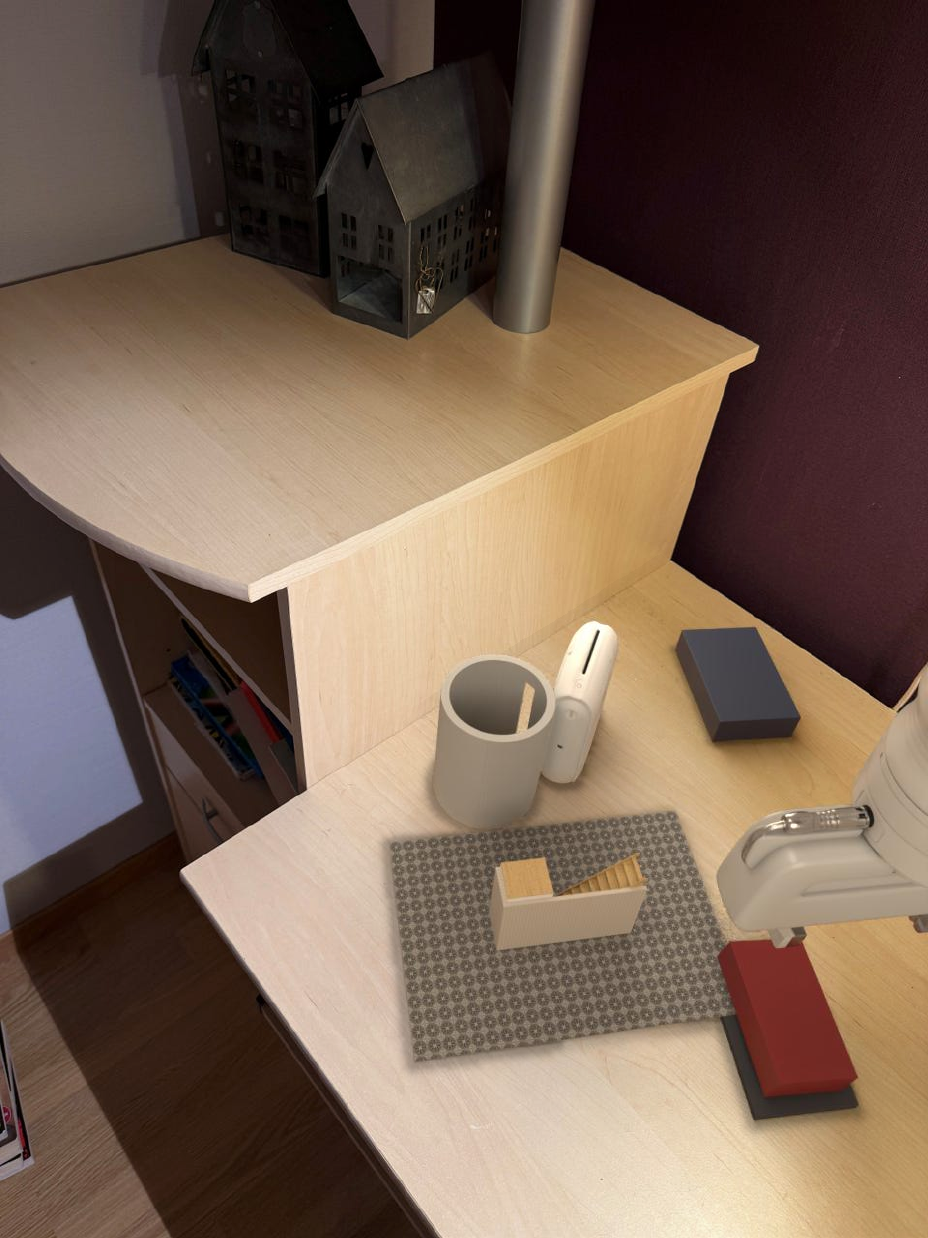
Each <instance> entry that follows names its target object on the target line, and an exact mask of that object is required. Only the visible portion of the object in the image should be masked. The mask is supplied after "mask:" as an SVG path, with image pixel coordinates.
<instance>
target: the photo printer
mask: <svg viewBox="0 0 928 1238" xmlns="http://www.w3.org/2000/svg"><path fill="white" fill-rule="evenodd" d="M618 652H619V641H618V636H617V634H616V632H615V630H614V629H613V627H611V626H610V625H608V624H602V623H600V622H598V621H595V620H593V621H589V622H586V623H584V624H583V625H582V626H581V627H579V629H578V630H577V631H576V632H575V633H574V635H573V637H572V639H571V640H570V643H569V644H568V647H567V650H566V652H565V654H564V656H563V659H562V661H561V664H560V667H559V669H558V673H557V676H556V679H555V683H554V686H553V688H552V689H553V691H554V695H555V710H554V715H553V719H552V724H551V728H550V733H549V737H548V741H547V746H546V750H545V755H544V759H543V763H542V768H541V772H540V773H541V774H542V775H543V777H545V778H546V779H548V780H549V781H551V782H554V783H557V784H569V783H570V782H573V783H575V782H576V780H577V779H578V778H579V776H580V774H581V772H582V770H583V768H584V765H585V763H586V760H587V757H588V756H589V755H588V754H589V752H590V749H591V746H592V744H593V740H594V738H595V734H596V731H597V727H598V726H599V722H600V718H601V715H602V711H603V707H604V704H605V700H606V697H607V693H608V689H609V685H610V681H611V678H612V674H613V671H614V667H615V663H616V660H617V656H618Z"/></svg>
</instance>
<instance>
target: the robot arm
mask: <svg viewBox="0 0 928 1238" xmlns="http://www.w3.org/2000/svg"><path fill="white" fill-rule="evenodd" d="M917 687H918V688H917V694H916V697H915V699H914V700H912V701H911V702H909V703H908V704H906V705H905V706H904V707H902V708H901V709H900V710H899V711H898V712H897V713H896V714H895V716H894V717H893V718H892V720H891V721H890V722H889V724H888V725H887V727H886V729H885V731H884V732H883V734H882V735H881V737H880V739H879V740H878V742H877V743H876V745H875V747H874V748H873V749H872V751H871V752H870V755H869V756H868V757H867V759H866V760H865V762H864V764H863V766H862V767H861V769H860V770H859V772H858V773H857V775H856V777H855V779H854V782H853V785H852V790H851V803H848V804H837V805H835V804H834V805H823V806H812V807H800V808H798V807H797V808H789V809H783V810H777V811H775V812H771V813H769V814H766V815H764V816H763V817H761V818H760V819H758V820H756V821H755V822H754V823H753V824H751V826H749V827H748V829H747V830H746V831H744V833H743V834H742V835H741V836H740V838H739V839H738V840H737V841H736V842H735V844H734V845H733V846H732V847H731V849H730V851H729V852H728V853H727V854H726V856H725V857H724V859H723V861H722V862H721V863H720V865H719V867H718V869H717V871H716V884H717V888H718V892H719V895H720V897H721V901H722V903H723V906H724V908H725V911H726V913H727V915H728V918H729V919H730V922H731V923H732V924H733V925H734V926H736V928H738V929H739V931H742V932H744V933H756V932H757V933H758V932H766V931H768V934H769V937H770V940H772V942H773V945H774V946H775V947H776V948H786V947H794V946H800V945H801V941H802V942H804V940H806V938H807V937H808V934H807V931H806V929H805V927H814V926H822V925H834V924H843V923H852V922H862V921H863V922H864V921H872V920H882V919H893V918H901V917H902V918H903V917H908V919H909V920H910V921H911V922H912V923H913V924H912V927H913V929H914V931H915V932H916V933H917V934H924V933H925V934H926V933H928V662H927V663H926V665H925V667H924V668H923V671H922V674H921V676H920V678H919V683H918V686H917Z"/></svg>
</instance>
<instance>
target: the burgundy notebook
mask: <svg viewBox="0 0 928 1238" xmlns="http://www.w3.org/2000/svg"><path fill="white" fill-rule="evenodd" d="M717 958H718V961H719V964H720V967H721V970H722V973H723V976H724V979H725V982H726V985H727V988H728V991H729V994H730V996H731V999H732V1002H733V1005H734V1008H735V1011H736V1014H737V1017H738V1020H739V1023H740V1026H741V1029H742V1032H743V1035H744V1038H745V1041H746V1044H747V1047H748V1050H749V1053H750V1056H751V1059H752V1062H753V1065H754V1067H755V1070H756V1073H757V1076H758V1079H759V1082H760V1085H761V1088H762V1091H763V1094H764V1097H770V1096H782V1095H794V1094H807V1093H819V1092H831V1091H841V1090H842V1089H844V1088H845V1087H846V1086H848V1085H849V1084H852V1083H854V1082H855V1081H856V1080H857V1079H858V1078H859V1076H858V1074H857V1072H856V1069H855V1066H854V1064H853V1061H852V1058H851V1057H850V1054H849V1052H848V1050H847V1047H846V1044H845V1042H844V1040H843V1037H842V1035H841V1032H840V1029H839V1027H838V1025H837V1022H836V1019H835V1018H834V1015H833V1013H832V1010H831V1008H830V1006H829V1003H828V1001H827V997H826V996H825V993H824V991H823V989H822V986H821V984H820V982H819V978H818V976H817V974H816V972H815V970H814V967H813V964H812V961H811V959H810V956H809V954H808V952H807V949H806V948H805V945H804V941H801V945H800V946H794V947H786V948H776V947H775V946H774V945H773V942H772V940H771V939H755V940H730V941H728V942H727V943H726V946H725V947H724V949H723V950H722V951H721V952H720V953H719V955H718V956H717Z"/></svg>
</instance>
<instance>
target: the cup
mask: <svg viewBox="0 0 928 1238" xmlns="http://www.w3.org/2000/svg"><path fill="white" fill-rule="evenodd" d="M526 684H528V685H529V686H530V687H531V688H532V689H533V690H534V692H533V697H532V703H531V706H530V707H531V708H530V712H529V717H528V722H527V728H526V729H525V730H523V731H520V732H518V727H519V721H520V717H521V711H522V706H523V699H524V694H525V691H526V690H525V689H526ZM553 689H554V688H553V686H552V684H551V682H550V681H549V679H548V678H547V676H546V675H544V673H543V672H542V671H541V670H540V669H538V668H537V667H536V666H534V665H532V664H531V663H529V662H528V661H526V660H523V659H521V658H518V657H515V656H512V655H509V654H508V655H506V654H501V653H500V654H499V653H488V654H487V653H485V654H478V655H476V656H475V655H474V656H471V657H469V658H466V659H464V660H462V661H460V662H458V663H457V664H456V665H455V666H453V667H452V668H451V669H450V670H449V672H448V673H447V674H446V676H444V679H443V681H442V684H441V688H440V694H439V706H438V719H437V727H436V728H437V729H436V741H435V750H434V751H435V753H434V765H433V773H432V789H433V793H434V797H435V799H436V800H437V803H438V805H439V806H440V807H441V809H442V810H443V811H444V812H445V813H446V814H447V815H448V816H449V817H451V818H452V819H453V820H455V821H456V822H458V823H460V824H463V825H464V826H467V827H470V828H473V829H475V828H476V829H482V830H497V829H501V828H505V827H508V826H510V825H513V824H515V823H516V822H518V821H519V820H521V819H522V818H523V817H524V816H525V815H526V814H527V813H528V812H529V811H530V809H531V807H532V806H533V804H534V801H535V798H536V794H537V790H538V786H539V780H540V777H541V773H542V772H541V768H542V763H543V759H544V755H545V750H546V746H547V741H548V737H549V733H550V728H551V724H552V719H553V715H554V710H555V695H554V691H553Z"/></svg>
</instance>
